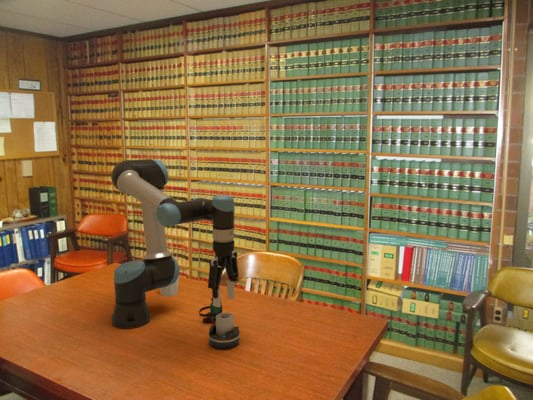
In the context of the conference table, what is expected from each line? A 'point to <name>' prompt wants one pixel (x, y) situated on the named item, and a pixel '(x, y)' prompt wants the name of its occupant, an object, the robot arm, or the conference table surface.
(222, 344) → the black round base
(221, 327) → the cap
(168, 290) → the mug
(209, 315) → the binoculars
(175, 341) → the conference table surface
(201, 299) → the conference table surface
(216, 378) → the conference table surface
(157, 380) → the conference table surface
